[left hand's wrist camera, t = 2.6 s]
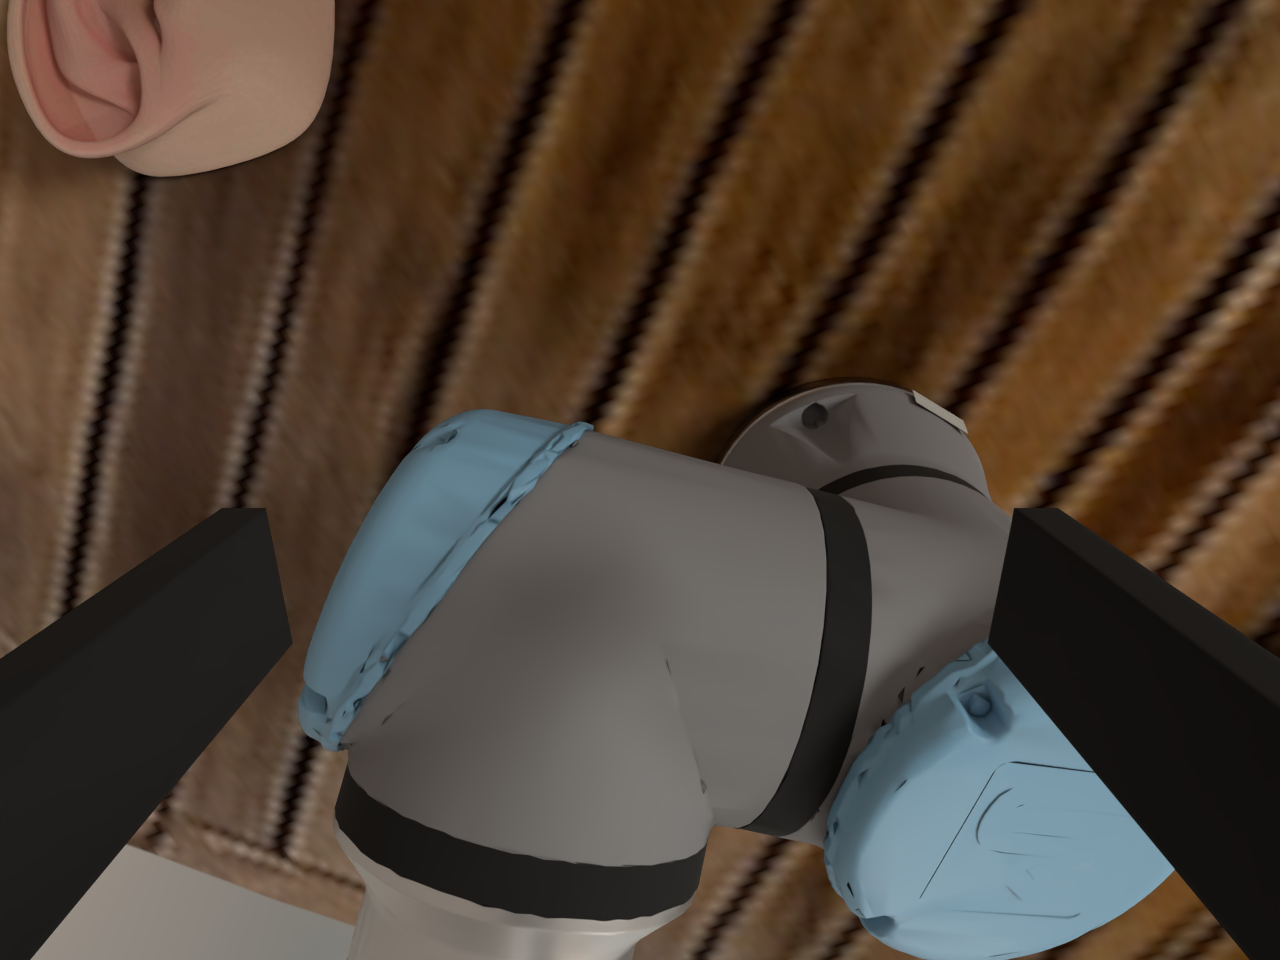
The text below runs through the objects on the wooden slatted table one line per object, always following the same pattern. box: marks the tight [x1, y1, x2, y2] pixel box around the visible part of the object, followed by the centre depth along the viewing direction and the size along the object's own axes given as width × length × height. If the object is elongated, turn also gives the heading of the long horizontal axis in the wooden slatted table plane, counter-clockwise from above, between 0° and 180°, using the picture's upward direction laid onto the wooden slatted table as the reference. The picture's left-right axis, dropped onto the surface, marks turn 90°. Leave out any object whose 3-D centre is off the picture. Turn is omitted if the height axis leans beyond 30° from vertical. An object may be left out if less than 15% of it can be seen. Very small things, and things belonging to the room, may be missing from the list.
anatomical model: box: [7, 0, 335, 177], centre depth 30 cm, size 13×4×12 cm
